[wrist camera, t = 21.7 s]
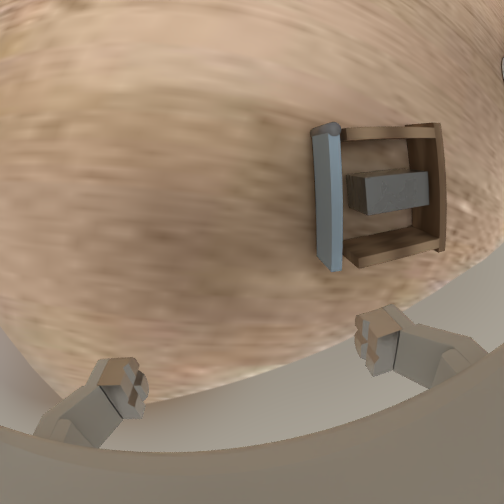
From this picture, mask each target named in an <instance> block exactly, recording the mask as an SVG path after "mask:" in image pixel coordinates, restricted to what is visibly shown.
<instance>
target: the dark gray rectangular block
mask: <svg viewBox="0 0 504 504" xmlns="http://www.w3.org/2000/svg"><path fill="white" fill-rule="evenodd" d="M346 181H347V190H348V200H349V207H350V208H352V209H354V210H357V211H359V212H361V213H363V214H366V215H373V214H379V213H384V212H390V211H396V210H402V209H407V208H413V207H419V206H425V205H429V184H428V171H421V170H414V169H406V168H403V169H392V170H382V171H372V172H364V173H355V174H347V175H346Z"/></svg>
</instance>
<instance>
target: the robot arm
mask: <svg viewBox="0 0 504 504" xmlns="http://www.w3.org/2000/svg"><path fill="white" fill-rule="evenodd" d="M502 71H503V77H504V58H503V61H502ZM355 326H356V327H357V329H358V330H357V332H356V333H355V346H356V350H357V352H358V354H359V356H360V358H362V359H365V360H366V365H365V366H366V367H367V369H368V370H369V372H370V373H371V375H372V376H373V377H374V376H377V375H380V374H383V373H386V372H389V371H391V370H393V371H395V372H397V373H398V374H400V375H402V376H404V377H406V378H408V379H410V380H412V381H414V382H416V383H418V384H420V385H422V386H424V387H426V388H428V390H426V391H424V392H423V393H420V394H418V395H416V396H414V397H412V398H410V399H408V400H405V401H403V402H401V403H399V404H396V405H394V406H392V407H389V408H387V409H384V410H382V411H379V412H377V413H374V414H372V415H369V416H366V417H363V418H360V419H358V420H355V421H352V422H349V423H346V424H343V425H340V426H336V427H333V428H330V429H326V430H323V431H319V432H315V433H311V434H307V435H304V436H299V437H295V438H291V439H286V440H281V441H277V442H271V443H265V444H260V445H254V446H247V447H239V448H231V449H222V450H211V451H198V452H133V451H120V450H109V449H100V448H99V447H100V446H101V445H102V444H103V443H104V442H105V440H106V439H107V438H108V437H109V436H110V435H111V433H112V432H113V431H114V430H115V429H116V427H118V425H119V424H120V423H121V422H122V421H123V419H142V417H143V414H144V410H145V404H144V403H143V401H144V400H145V399H146V398H147V397H148V393H149V387H148V382H147V379H146V377H145V375H144V374H143V373H142V372H140V371H139V370H138V369H139V363H138V362H137V360H136V359H135V358H133V357H127V358H111V359H110V358H108V359H100V360H98V361H97V363H96V365H95V367H94V369H93V371H92V373H91V375H90V377H89V379H88V381H87V383H86V385H85V386H81V387H80V388H79V389H77V390H76V391H74V392H73V393H72V394H70V395H69V396H68V397H66V398H65V399H64V400H62V401H61V402H60V403H58V404H57V405H56V406H55V407H53V408H52V409H50V410H49V411H47V412H46V413H45V414H43V416H42V418H41V419H40V422H39V424H38V426H37V428H36V430H35V432H34V434H33V435H29V434H25V433H22V432H19V431H16V430H13V429H10V428H6V427H4V426H1V425H0V504H504V343H503V344H502V345H500V346H499V347H498V348H496V349H495V350H493V351H492V352H490V353H488V352H486V351H485V350H484V349H483V348H482V347H481V346H480V345H479V344H478V343H477V342H475V341H474V340H473V339H472V338H471V337H468V336H464V335H460V334H456V333H452V332H448V331H445V330H441V329H437V328H433V327H429V326H426V325H422V324H416V325H415V324H414V323H413V322H412V321H411V320H410V319H409V318H408V317H407V316H406V315H404V313H403V312H402V311H400V310H399V309H398V308H397V307H396V306H395V305H394V304H390V305H387V306H384V307H381V308H379V309H376V310H373V311H370V312H367V313H363V314H360V315H356V318H355Z"/></svg>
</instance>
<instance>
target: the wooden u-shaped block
mask: <svg viewBox="0 0 504 504" xmlns="http://www.w3.org/2000/svg"><path fill="white" fill-rule="evenodd" d="M376 139H407V146H408V154H409V164H410V169H414V170H421V171H428V184H429V205H425V206H419V207H413V208H412V227H407V228H402V229H397V230H392V231H388V232H383V233H378V234H373V235H368V236H363V237H359V238H354V239H349V240H344V241H343V249H342V255H344V256H345V257H346V258H347V259H348V260H349V261H351V262H352V263H353V264H354V265H355V266H356V267H357V268H359V269H360V268H364V267H368V266H372V265H376V264H380V263H384V262H388V261H392V260H396V259H400V258H403V257H407V256H411V255H415V254H418V253H422V252H426V251H429V250H435V251H437V252H442V251H445V241H446V210H447V203H446V172H445V158H444V148H443V139H442V131H441V124H440V123H423V124H412V125H405V127H358V128H344V129H341V133H340V142H344V141H358V140H376Z"/></svg>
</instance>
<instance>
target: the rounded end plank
mask: <svg viewBox="0 0 504 504" xmlns="http://www.w3.org/2000/svg"><path fill="white" fill-rule="evenodd" d="M340 133H341V126H340V125H339V124H338V123H336V122H331V123H328V124H325V125H321V126H318V127H315V128H313V129H312V130H311V132H310V134H311V137H312V141H313V156H314V172H315V193H316V226H317V257H318V258H319V259H320V260H321V261H322V262H323V263H324V264H325V266H326V267H327V268H328V269H329V270H330V271H331V272H335V271H342V249H343V191H342V164H341V146H340Z"/></svg>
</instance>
